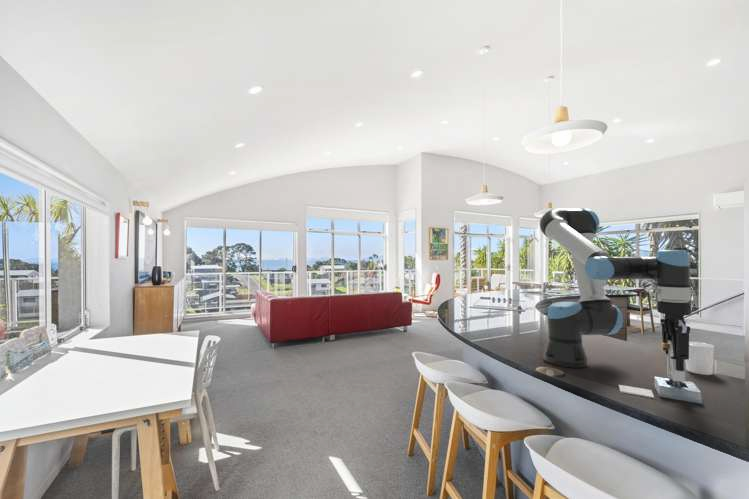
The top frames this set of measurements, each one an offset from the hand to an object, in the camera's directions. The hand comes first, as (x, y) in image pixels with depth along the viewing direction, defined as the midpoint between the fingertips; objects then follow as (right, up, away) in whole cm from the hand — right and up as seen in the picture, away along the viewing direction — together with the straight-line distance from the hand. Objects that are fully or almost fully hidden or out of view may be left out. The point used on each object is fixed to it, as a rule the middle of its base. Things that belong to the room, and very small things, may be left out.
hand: (676, 378), depth 98 cm
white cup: (+26, -5, +19) cm, 33 cm away
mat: (-11, -5, +2) cm, 12 cm away
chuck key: (0, -4, 0) cm, 4 cm away
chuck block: (0, -5, 0) cm, 5 cm away
